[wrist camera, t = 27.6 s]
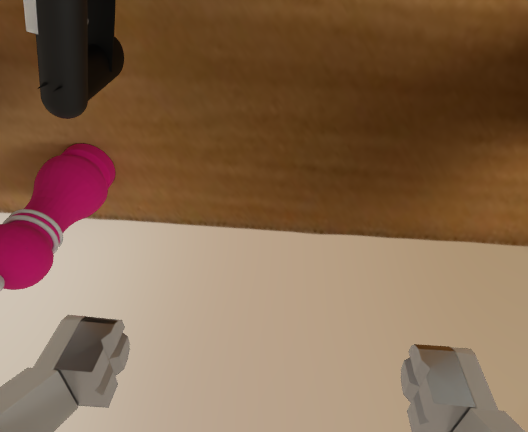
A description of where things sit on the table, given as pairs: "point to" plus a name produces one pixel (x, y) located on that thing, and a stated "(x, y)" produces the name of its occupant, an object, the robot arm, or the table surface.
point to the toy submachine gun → (73, 51)
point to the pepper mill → (52, 213)
